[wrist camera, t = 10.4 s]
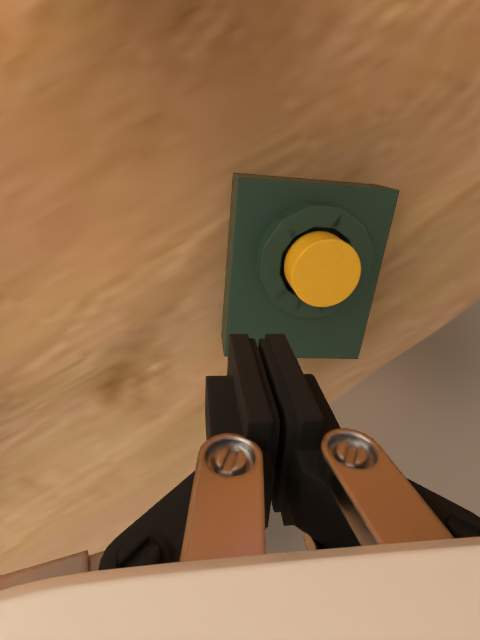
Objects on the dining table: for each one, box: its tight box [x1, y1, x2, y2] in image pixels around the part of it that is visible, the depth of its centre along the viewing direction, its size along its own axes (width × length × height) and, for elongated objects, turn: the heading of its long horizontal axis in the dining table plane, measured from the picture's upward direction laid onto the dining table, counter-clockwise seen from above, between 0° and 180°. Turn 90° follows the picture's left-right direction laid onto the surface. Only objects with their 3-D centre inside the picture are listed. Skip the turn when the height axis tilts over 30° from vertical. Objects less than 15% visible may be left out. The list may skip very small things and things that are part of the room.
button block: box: [221, 173, 399, 359], centre depth 26 cm, size 12×10×5 cm
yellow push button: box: [284, 231, 361, 307], centre depth 22 cm, size 4×4×2 cm
